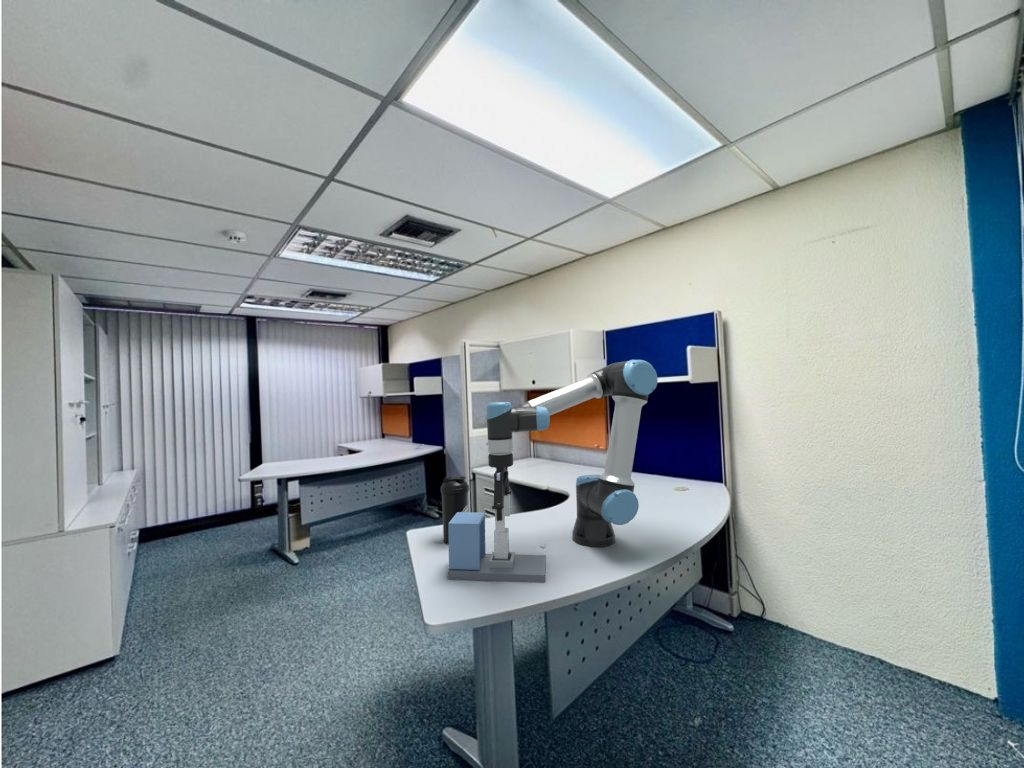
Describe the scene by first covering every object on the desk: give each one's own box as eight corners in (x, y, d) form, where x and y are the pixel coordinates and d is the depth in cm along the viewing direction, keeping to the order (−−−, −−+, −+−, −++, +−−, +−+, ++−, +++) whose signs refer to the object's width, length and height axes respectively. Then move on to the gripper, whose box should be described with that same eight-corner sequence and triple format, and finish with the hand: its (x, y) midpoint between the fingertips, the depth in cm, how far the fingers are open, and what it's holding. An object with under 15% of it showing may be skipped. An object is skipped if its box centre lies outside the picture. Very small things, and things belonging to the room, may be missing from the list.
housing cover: (485, 554, 126) (484, 512, 126) (479, 569, 115) (478, 523, 115) (457, 553, 127) (457, 512, 127) (448, 568, 116) (448, 523, 116)
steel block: (496, 560, 122) (495, 527, 122) (509, 560, 122) (508, 527, 122) (494, 566, 118) (493, 532, 118) (507, 566, 118) (507, 532, 118)
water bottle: (464, 546, 139) (463, 480, 139) (436, 545, 141) (436, 479, 141) (473, 536, 149) (472, 474, 149) (447, 534, 151) (446, 474, 151)
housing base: (545, 561, 126) (545, 548, 126) (545, 582, 112) (545, 567, 112) (458, 559, 128) (458, 546, 128) (447, 579, 114) (447, 565, 114)
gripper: (494, 447, 134) (496, 510, 133) (481, 460, 109) (484, 538, 108) (516, 446, 133) (518, 510, 132) (508, 459, 108) (511, 538, 108)
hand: (503, 523), depth 120 cm, fingers open, 13 cm apart
